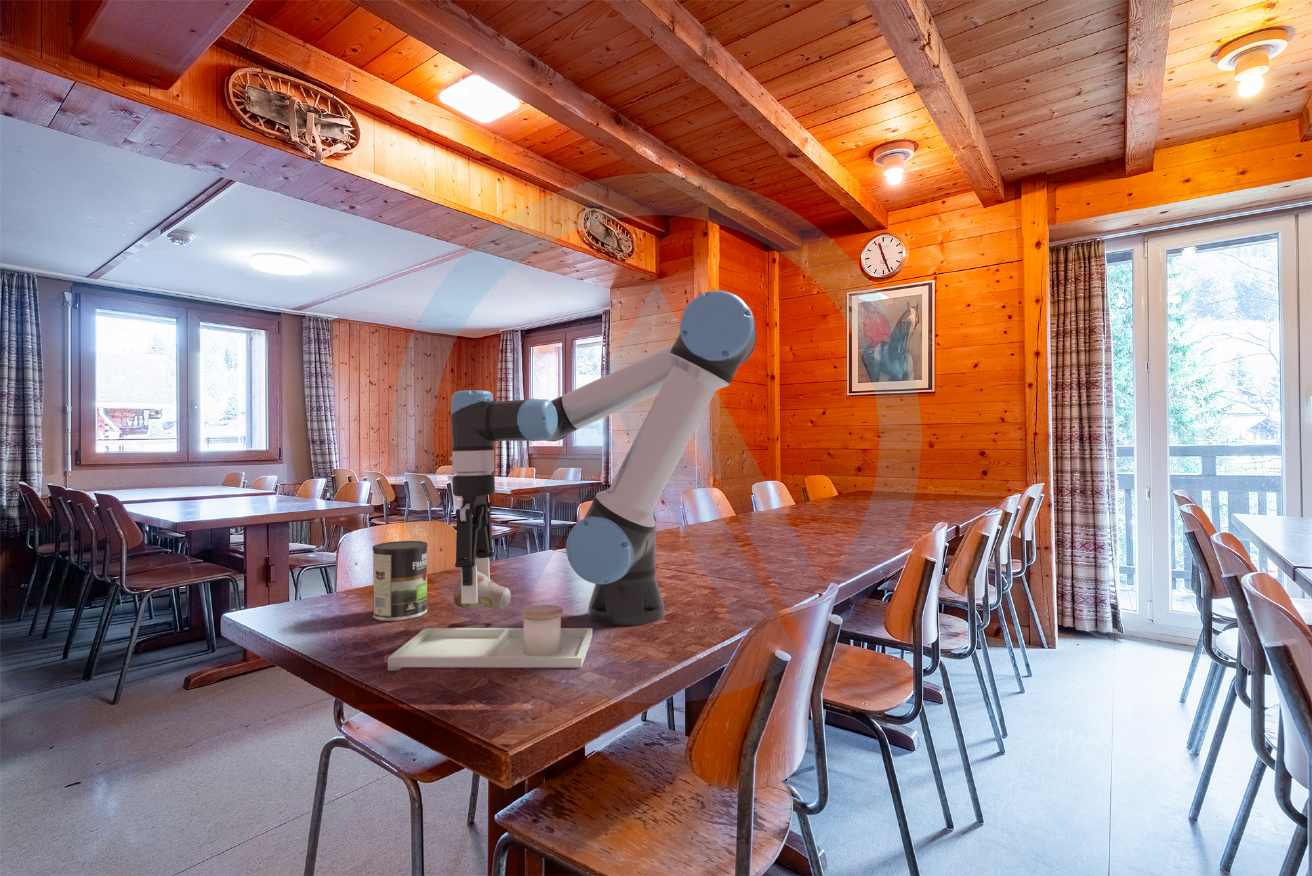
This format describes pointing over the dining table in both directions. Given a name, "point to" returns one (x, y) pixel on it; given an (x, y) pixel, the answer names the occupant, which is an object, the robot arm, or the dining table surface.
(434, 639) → the caddy
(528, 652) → the sugar pot
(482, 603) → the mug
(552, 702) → the dining table surface
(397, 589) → the coffee can
